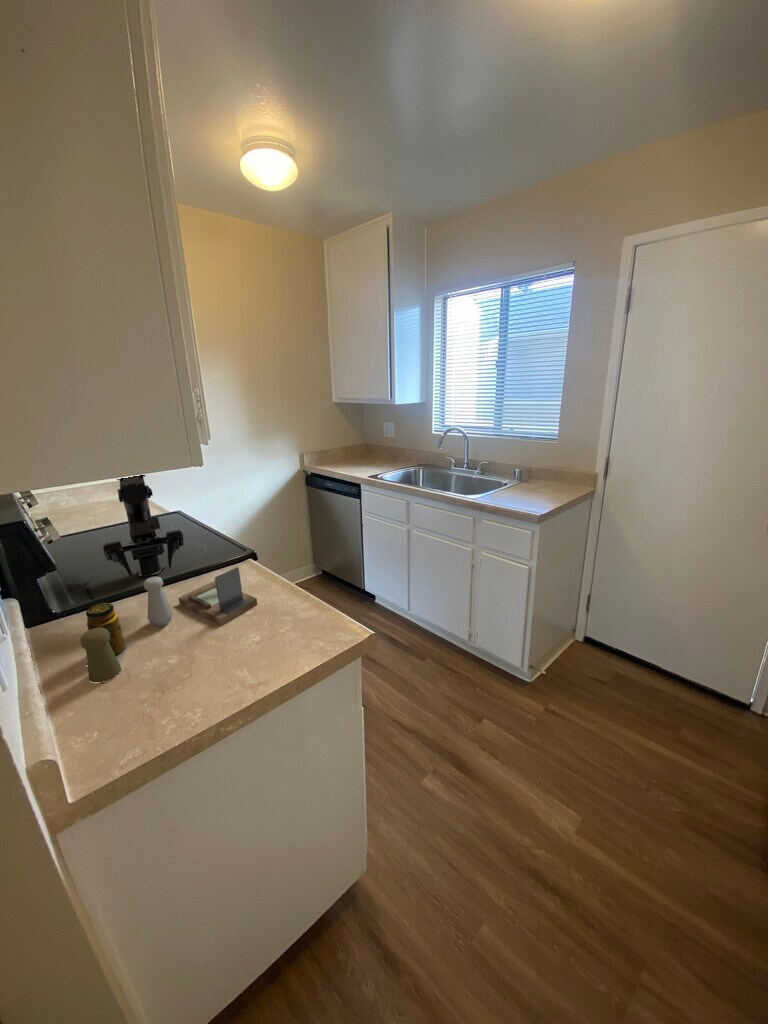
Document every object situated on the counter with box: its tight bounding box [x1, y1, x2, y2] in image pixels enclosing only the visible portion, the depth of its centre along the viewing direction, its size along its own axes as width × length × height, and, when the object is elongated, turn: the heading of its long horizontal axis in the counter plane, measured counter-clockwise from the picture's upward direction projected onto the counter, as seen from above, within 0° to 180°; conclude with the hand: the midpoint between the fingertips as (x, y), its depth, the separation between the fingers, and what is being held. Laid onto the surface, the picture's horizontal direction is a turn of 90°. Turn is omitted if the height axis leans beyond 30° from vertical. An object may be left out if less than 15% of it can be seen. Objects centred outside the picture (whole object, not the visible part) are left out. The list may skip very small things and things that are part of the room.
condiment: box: [85, 602, 132, 665], centre depth 95 cm, size 7×8×12 cm
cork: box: [79, 628, 122, 682], centre depth 89 cm, size 6×6×11 cm
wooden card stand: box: [178, 580, 258, 626], centre depth 117 cm, size 19×12×3 cm, turn 56°
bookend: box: [214, 566, 250, 614], centre depth 111 cm, size 3×7×10 cm, turn 146°
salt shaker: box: [143, 576, 173, 628], centre depth 107 cm, size 6×6×13 cm
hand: (151, 573), depth 110 cm, fingers open, 9 cm apart
